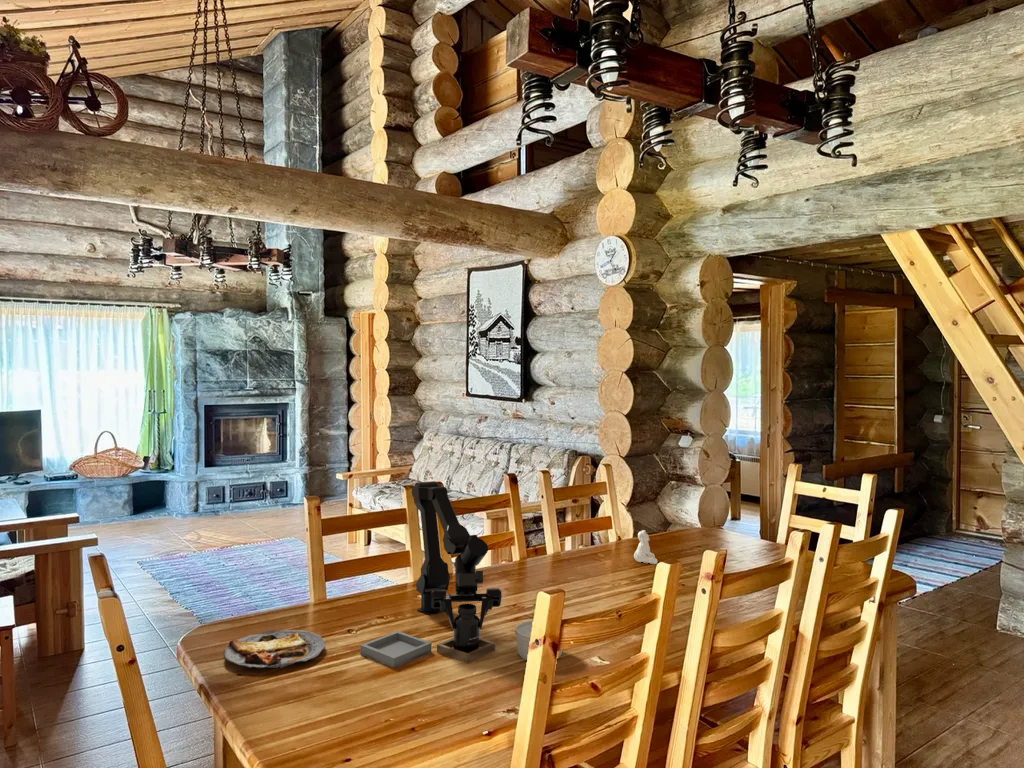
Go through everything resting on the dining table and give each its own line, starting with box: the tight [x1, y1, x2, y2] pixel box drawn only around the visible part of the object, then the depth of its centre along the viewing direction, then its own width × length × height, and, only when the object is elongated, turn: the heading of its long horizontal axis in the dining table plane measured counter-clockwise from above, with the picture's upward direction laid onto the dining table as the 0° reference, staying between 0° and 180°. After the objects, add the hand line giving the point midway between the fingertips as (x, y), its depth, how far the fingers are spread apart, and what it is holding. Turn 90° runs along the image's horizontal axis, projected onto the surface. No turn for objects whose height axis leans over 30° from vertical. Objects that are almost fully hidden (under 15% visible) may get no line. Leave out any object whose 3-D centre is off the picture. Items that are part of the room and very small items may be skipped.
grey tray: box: [359, 630, 433, 669], centre depth 192 cm, size 13×13×2 cm
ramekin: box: [514, 620, 563, 661], centre depth 193 cm, size 13×13×7 cm
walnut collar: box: [436, 637, 497, 664], centre depth 194 cm, size 11×11×2 cm
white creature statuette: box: [633, 529, 658, 565], centre depth 283 cm, size 10×9×12 cm
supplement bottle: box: [453, 603, 480, 653], centre depth 194 cm, size 7×7×12 cm
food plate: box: [223, 629, 326, 669], centre depth 191 cm, size 25×23×4 cm
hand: (467, 628), depth 193 cm, fingers closed on supplement bottle, 7 cm apart
